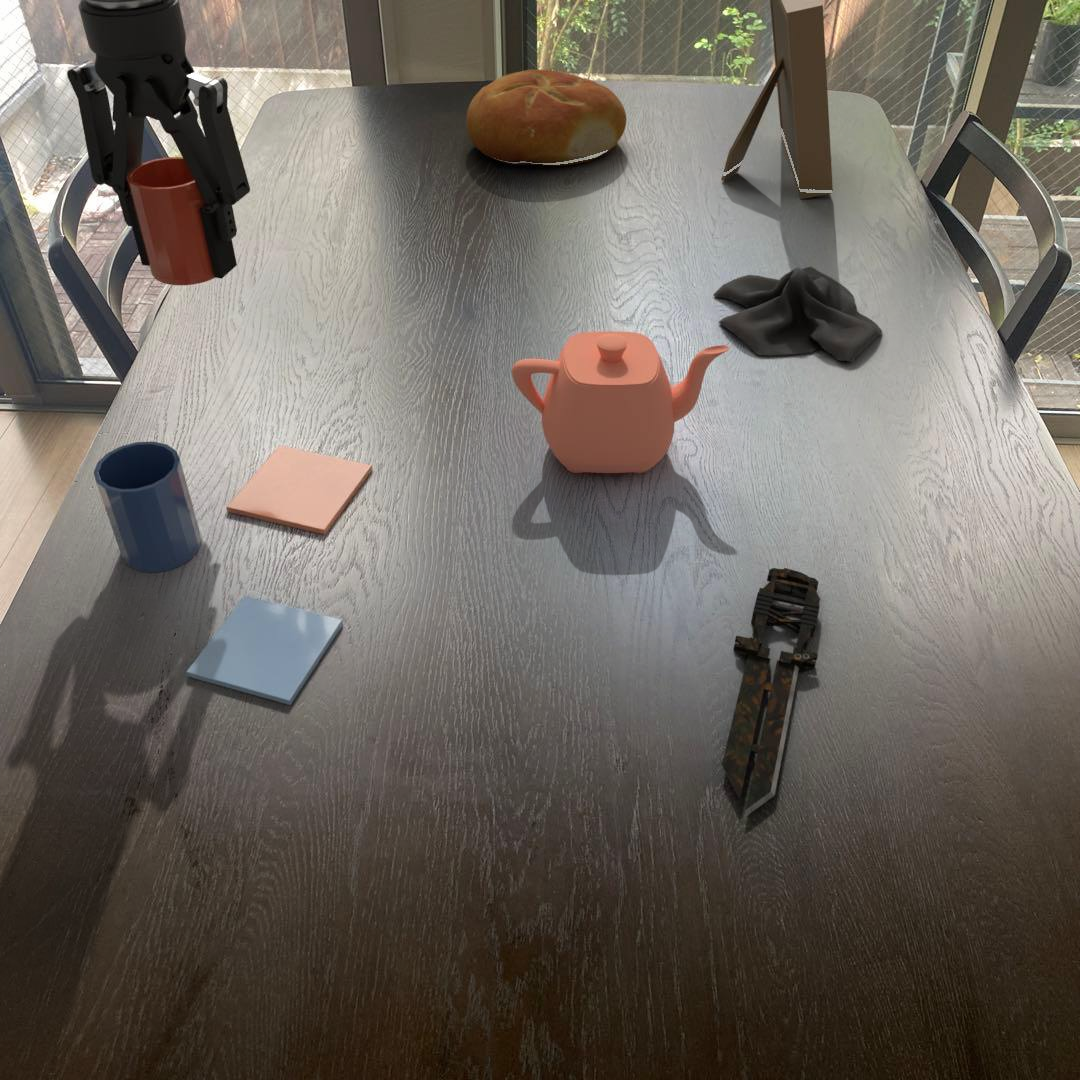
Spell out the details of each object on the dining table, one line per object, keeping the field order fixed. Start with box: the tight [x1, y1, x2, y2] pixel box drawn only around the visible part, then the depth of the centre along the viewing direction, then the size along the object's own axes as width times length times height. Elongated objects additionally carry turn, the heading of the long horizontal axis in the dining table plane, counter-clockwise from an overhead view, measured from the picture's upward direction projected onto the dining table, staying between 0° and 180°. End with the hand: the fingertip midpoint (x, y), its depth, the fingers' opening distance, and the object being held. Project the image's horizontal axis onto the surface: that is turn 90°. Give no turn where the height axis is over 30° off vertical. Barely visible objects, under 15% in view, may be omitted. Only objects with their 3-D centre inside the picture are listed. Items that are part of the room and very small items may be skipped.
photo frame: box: [720, 0, 834, 200], centre depth 149 cm, size 15×22×25 cm
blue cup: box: [93, 440, 202, 573], centre depth 93 cm, size 7×7×9 cm
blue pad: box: [186, 594, 344, 706], centre depth 86 cm, size 9×9×1 cm
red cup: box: [126, 156, 216, 286], centre depth 96 cm, size 7×7×9 cm
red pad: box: [226, 444, 374, 536], centre depth 101 cm, size 10×10×1 cm
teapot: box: [511, 330, 730, 474], centre depth 103 cm, size 13×20×12 cm, turn 90°
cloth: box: [712, 266, 883, 363], centre depth 124 cm, size 22×19×6 cm
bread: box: [465, 69, 627, 167], centre depth 160 cm, size 23×23×10 cm
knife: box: [721, 567, 821, 819], centre depth 83 cm, size 25×6×1 cm, turn 157°
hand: (189, 264), depth 99 cm, fingers closed on red cup, 7 cm apart
